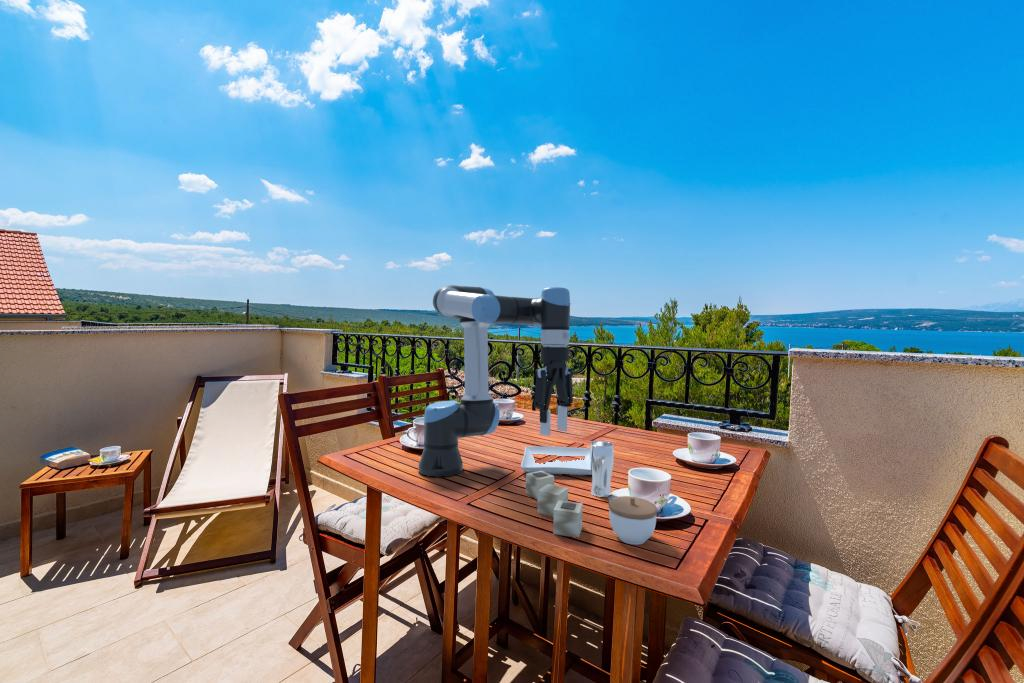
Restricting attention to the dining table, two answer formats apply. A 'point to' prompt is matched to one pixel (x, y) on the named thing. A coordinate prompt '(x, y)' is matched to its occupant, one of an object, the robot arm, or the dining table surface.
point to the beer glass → (601, 467)
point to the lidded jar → (632, 519)
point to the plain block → (550, 498)
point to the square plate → (557, 461)
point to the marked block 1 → (537, 482)
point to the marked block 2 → (567, 518)
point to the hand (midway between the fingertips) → (553, 432)
